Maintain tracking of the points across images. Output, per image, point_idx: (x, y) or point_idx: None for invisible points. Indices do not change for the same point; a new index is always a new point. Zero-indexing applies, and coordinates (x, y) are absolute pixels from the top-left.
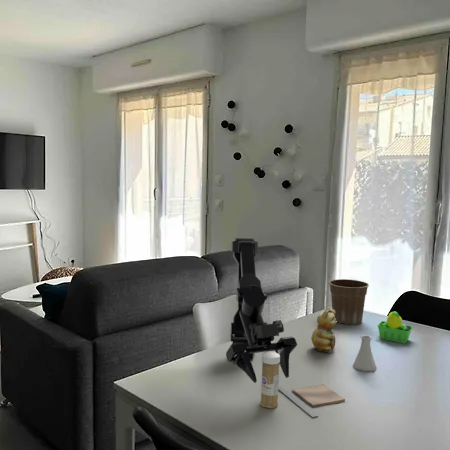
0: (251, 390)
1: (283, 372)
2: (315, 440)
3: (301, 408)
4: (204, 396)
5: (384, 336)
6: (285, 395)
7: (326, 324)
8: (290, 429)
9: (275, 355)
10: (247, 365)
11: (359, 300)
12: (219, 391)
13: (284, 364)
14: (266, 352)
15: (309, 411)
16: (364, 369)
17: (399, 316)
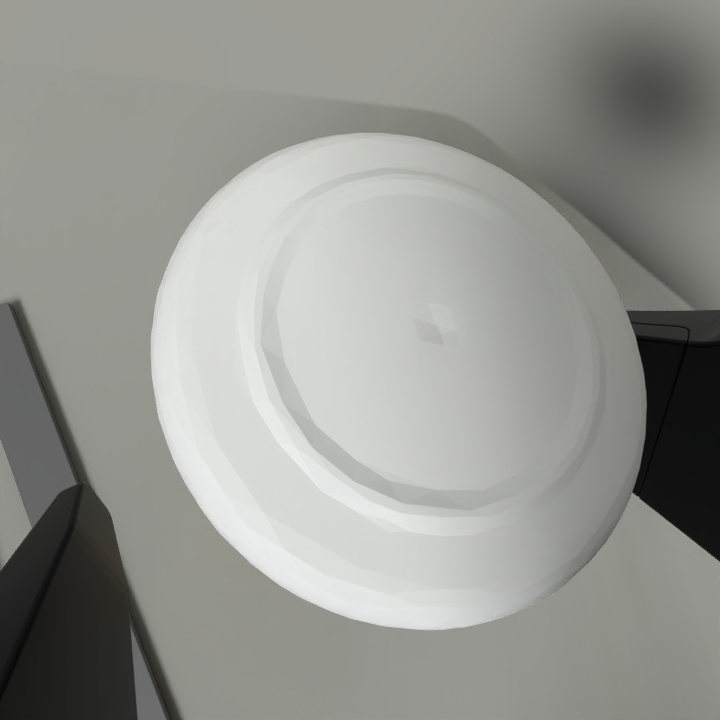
0: (424, 697)
1: (124, 598)
2: (78, 103)
3: (57, 428)
4: (661, 517)
5: None
6: (145, 657)
7: None
8: (193, 195)
9: (309, 244)
10: (659, 314)
11: None
12: (614, 613)
13: (54, 648)
14: (585, 459)
15: (4, 375)
16: None
17: None
